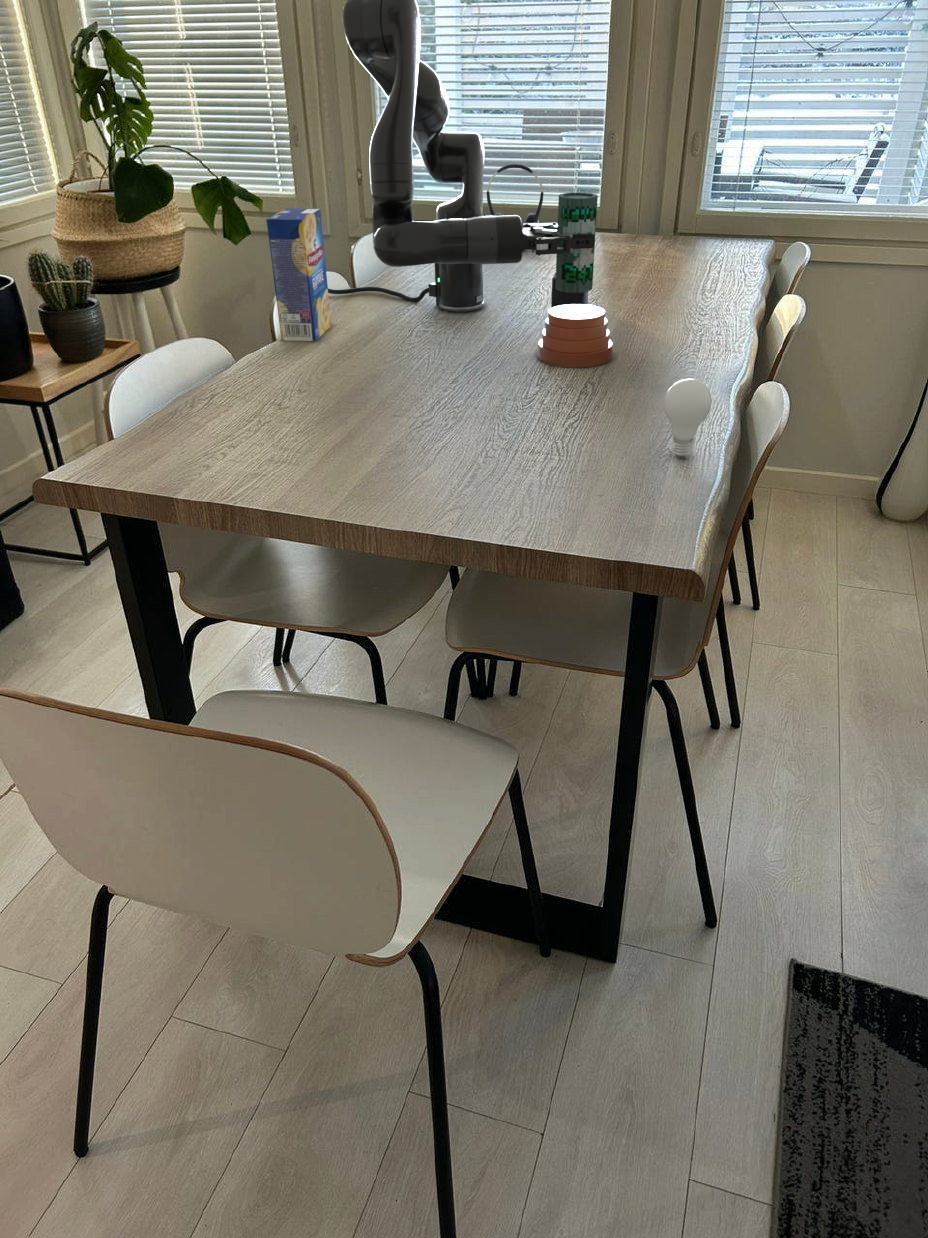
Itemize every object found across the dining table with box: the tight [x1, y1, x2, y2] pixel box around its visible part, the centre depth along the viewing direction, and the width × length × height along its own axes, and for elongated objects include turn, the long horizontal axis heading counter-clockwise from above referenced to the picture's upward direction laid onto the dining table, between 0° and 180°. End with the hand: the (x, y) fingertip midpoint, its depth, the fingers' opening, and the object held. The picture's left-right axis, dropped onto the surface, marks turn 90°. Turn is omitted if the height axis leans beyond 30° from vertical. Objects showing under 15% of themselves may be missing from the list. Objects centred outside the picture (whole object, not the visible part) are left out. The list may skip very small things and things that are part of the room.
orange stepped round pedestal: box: [537, 304, 613, 369], centre depth 173 cm, size 13×13×8 cm
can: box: [555, 191, 599, 293], centre depth 164 cm, size 6×6×15 cm
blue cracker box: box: [266, 208, 332, 342], centre depth 186 cm, size 7×11×22 cm, turn 170°
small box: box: [550, 271, 589, 309], centre depth 188 cm, size 11×6×10 cm, turn 168°
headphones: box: [486, 163, 545, 224], centre depth 249 cm, size 9×15×20 cm, turn 77°
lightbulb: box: [663, 378, 713, 458], centre depth 133 cm, size 6×6×11 cm
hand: (589, 236), depth 164 cm, fingers closed on can, 6 cm apart
